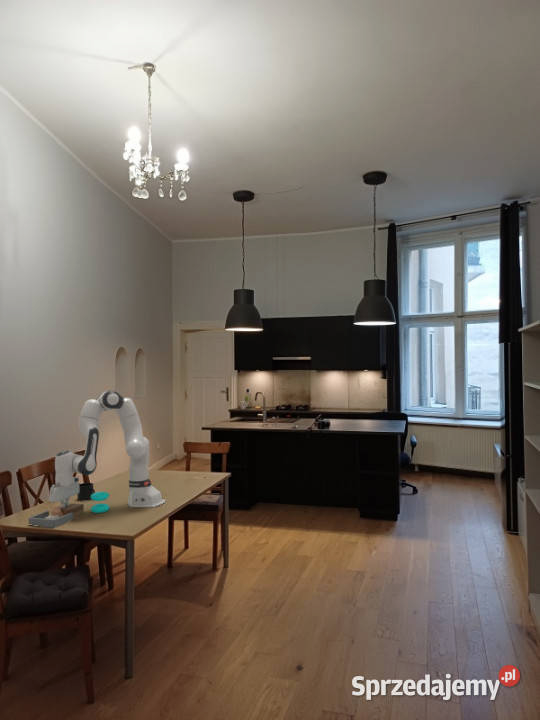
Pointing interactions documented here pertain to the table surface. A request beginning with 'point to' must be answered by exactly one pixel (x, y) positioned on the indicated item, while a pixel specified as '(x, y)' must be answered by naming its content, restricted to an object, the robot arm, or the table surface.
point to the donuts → (101, 507)
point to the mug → (85, 491)
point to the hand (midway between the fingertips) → (65, 506)
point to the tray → (49, 520)
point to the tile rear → (57, 512)
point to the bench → (72, 509)
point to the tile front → (52, 517)
